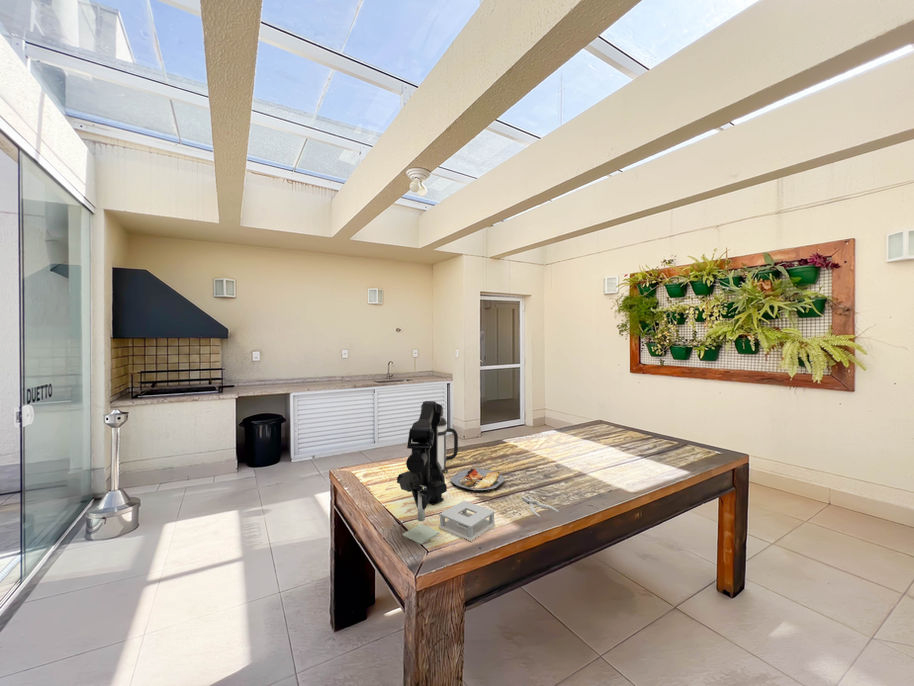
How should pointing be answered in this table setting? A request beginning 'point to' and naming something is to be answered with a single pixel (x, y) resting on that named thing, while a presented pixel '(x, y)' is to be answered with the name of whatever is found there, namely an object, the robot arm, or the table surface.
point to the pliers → (536, 504)
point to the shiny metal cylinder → (420, 507)
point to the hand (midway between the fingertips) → (421, 508)
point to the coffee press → (442, 444)
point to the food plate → (473, 475)
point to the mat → (421, 533)
